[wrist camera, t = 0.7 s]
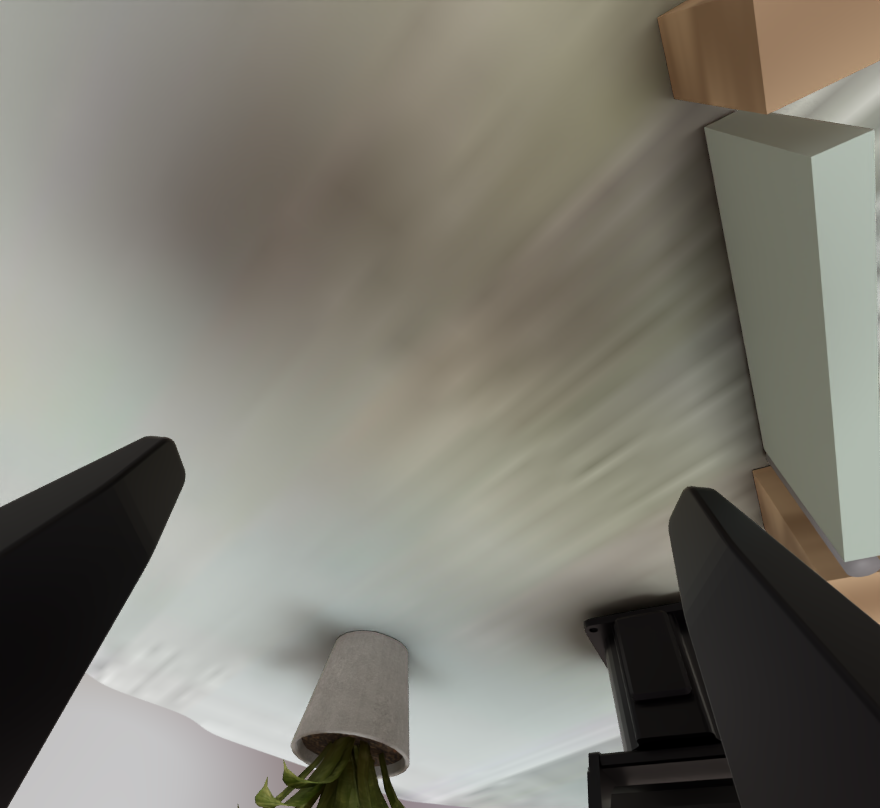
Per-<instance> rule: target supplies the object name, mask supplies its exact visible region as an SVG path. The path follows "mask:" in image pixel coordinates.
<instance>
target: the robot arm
mask: <svg viewBox="0 0 880 808" xmlns="http://www.w3.org/2000/svg"><path fill="white" fill-rule="evenodd" d="M184 482H185V469H184V466H183V464H182V461H181V458H180V455H179V453H178V450H177V447H176V445H175V443H174V441H173V440H172V439H170V438H167V437H158V436H146V437H143V438H141V439H139V440H137V441H135V442H133V443H131V444H129V445H127V446H125V447H123V448H121V449H119V450H116V451H114V452H112V453H110V454H108V455H106V456H104V457H102V458H100V459H98V460H96V461H94V462H92V463H90V464H88V465H86V466H84V467H82V468H80V469H78V470H75V471H73V472H71V473H69V474H67V475H65V476H63V477H61V478H59V479H57V480H55V481H53V482H51V483H49V484H47V485H45V486H43V487H41V488H39V489H37V490H35V491H32V492H30V493H28V494H26V495H24V496H22V497H20V498H18V499H16V500H14V501H12V502H10V503H8V504H6V505H4V506H2V507H0V808H7V807H8V806H9V804H10V802H11V801H12V799H13V797H14V795H15V794H16V792H17V790H18V788H19V787H20V785H21V783H22V781H23V780H24V778H25V776H26V775H27V773H28V771H29V769H30V767H31V766H32V764H33V762H34V761H35V759H36V757H37V755H38V754H39V752H40V750H41V748H42V747H43V745H44V743H45V742H46V740H47V738H48V736H49V735H50V733H51V731H52V729H53V728H54V726H55V724H56V722H57V721H58V719H59V717H60V716H61V714H62V712H63V710H64V709H65V707H66V705H67V703H68V702H69V700H70V698H71V696H72V695H73V693H74V691H75V689H76V688H77V686H78V684H79V683H80V681H81V679H82V677H83V676H84V674H85V672H86V670H87V669H88V667H89V665H90V663H91V662H92V660H93V658H94V656H95V655H96V653H97V651H98V650H99V648H100V646H101V644H102V643H103V641H104V639H105V637H106V636H107V634H108V632H109V630H110V629H111V627H112V625H113V623H114V622H115V620H116V618H117V617H118V615H119V613H120V611H121V610H122V608H123V606H124V604H125V603H126V601H127V599H128V597H129V596H130V594H131V592H132V590H133V589H134V587H135V585H136V584H137V582H138V580H139V578H140V577H141V575H142V573H143V571H144V569H145V568H146V566H147V564H148V562H149V560H150V558H151V556H152V554H153V552H154V550H155V548H156V546H157V544H158V541H159V539H160V537H161V535H162V532H163V530H164V528H165V526H166V523H167V521H168V519H169V517H170V514H171V512H172V510H173V508H174V505H175V503H176V501H177V499H178V496H179V494H180V492H181V490H182V487H183V485H184ZM669 536H670V541H671V547H672V552H673V558H674V563H675V569H676V575H677V580H678V586H679V591H680V597H681V602H680V603H674V604H669V605H663V606H658V607H652V608H647V609H641V610H636V611H631V612H625V613H620V614H614V615H609V616H603V617H598V618H592V619H588V620H586V621H584V629H585V632H586V634H587V636H588V637H589V639H590V641H591V642H592V644H593V645H594V647H595V649H596V650H597V652H598V654H599V655H600V657H601V659H602V660H603V662H604V664H605V665H606V667H607V668H608V672H609V677H610V682H611V687H612V692H613V698H614V703H615V708H616V713H617V718H618V723H619V728H620V734H621V739H622V744H623V749H624V752H615V753H605V754H601V753H600V752H593V753H589V768H588V772H587V778H588V803H589V808H880V624H878V623H877V622H876V621H875V620H873V619H872V618H871V617H870V616H869V615H867V614H866V613H865V612H864V611H862V610H861V609H860V608H859V607H858V606H856V605H855V604H854V603H853V602H851V601H850V600H849V599H848V598H847V597H845V596H844V595H843V594H842V593H840V592H839V591H838V590H837V589H836V588H834V587H833V586H832V585H831V584H829V583H828V582H827V581H826V580H825V579H823V578H822V577H821V576H820V575H818V574H817V573H816V572H815V571H814V570H812V569H811V568H810V567H809V566H807V565H806V564H805V563H804V562H803V561H801V560H800V559H799V558H798V557H796V556H795V555H794V554H793V553H792V552H790V551H789V550H788V549H787V548H785V547H784V546H783V545H782V544H781V543H779V542H778V541H777V540H776V539H774V538H773V537H772V536H771V535H770V534H768V533H767V532H766V531H765V530H763V529H762V528H761V527H760V526H759V525H757V524H756V523H755V522H754V521H752V520H751V519H750V518H749V517H748V516H746V515H745V514H744V513H743V512H741V511H740V510H739V509H738V508H736V507H735V506H734V505H733V504H732V503H730V502H729V501H728V500H727V499H725V498H724V497H723V496H722V495H721V494H719V493H718V492H717V491H715V490H714V489H711V488H705V487H694V486H690V487H687V488H685V489H684V490H683V492H682V494H681V496H680V498H679V500H678V502H677V504H676V506H675V508H674V510H673V512H672V515H671V517H670V520H669Z"/></svg>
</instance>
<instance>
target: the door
mask: <svg viewBox="0 0 880 808" xmlns="http://www.w3.org/2000/svg"><path fill="white" fill-rule="evenodd" d="M704 130H705V135H706V141H707V146H708V151H709V157H710V162H711V167H712V173H713V178H714V184H715V189H716V194H717V200H718V205H719V210H720V216H721V221H722V226H723V232H724V237H725V243H726V248H727V253H728V259H729V264H730V269H731V275H732V280H733V285H734V291H735V296H736V302H737V307H738V312H739V318H740V323H741V328H742V334H743V339H744V344H745V350H746V355H747V360H748V366H749V371H750V377H751V382H752V387H753V393H754V398H755V403H756V409H757V414H758V419H759V425H760V430H761V436H762V441H763V446H764V450H765V451H766V460H767V461H768V463H769V464H770V465H771V467H772V468H773V470H774V471H775V473H776V474H777V475H778V477H779V478H780V480H781V481H782V483H783V484H784V485H785V487H786V488H787V490H788V491H789V493H790V494H791V495H792V497H793V498H794V500H795V501H796V502H797V504H798V505H799V507H800V508H801V510H802V511H803V512H804V514H805V515H806V517H807V518H808V520H809V521H810V522H811V524H812V525H813V527H814V528H815V530H816V531H817V532H818V534H819V535H820V537H821V538H822V539H823V541H824V542H825V544H826V545H827V547H828V548H829V549H830V551H831V552H832V554H833V555H834V557H835V558H836V559H837V561H838V562H839V564H840V565H841V567H842V568H843V569H844V571H845V572H846V574H847V575H849V576H852V577H864V576H868V575H871V574H874V573H875V572H877V571H878V570H879V569H880V560H879V558H878V557H877V556H879V555H880V419H879V363H878V306H877V250H876V193H875V137H874V129H870V128H864V127H858V126H851V125H845V124H839V123H833V122H826V121H820V120H814V119H808V118H801V117H795V116H789V115H783V114H776V113H770V114H767V115H766V114H760V113H754V112H748V111H743V110H738V111H736V112H734V113H732V114H730V115H728V116H726V117H724V118H722V119H720V120H718V121H716V122H714V123H712V124H709V125H707V126H705V127H704Z"/></svg>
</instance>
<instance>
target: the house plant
mask: <svg viewBox="0 0 880 808" xmlns="http://www.w3.org/2000/svg"><path fill="white" fill-rule="evenodd" d="M291 748H292V751H293V753H294V754H295V755H296V756H297V757H298V758H299V759H300V760H302V761H303V762H305V763H306V764H308V765H309V766H308V767H307V768H306V769H305V770H304V771H303V772H302V773H301V774H300V775H299V776H298V777H297V776H296V775H294V774H293V773H292V772H291V771H290V770H289V769H287V767H286V764H285V762H284V773H283V781H284V783H285V784H286V785H287V786H288V787H287V788H286V789H285V790H284V791H283V792H281V793H280V794H279V795H278V796H277V797H276V798H274V797H273V796H272V794H271V792H270V791H269V789H268V787H267V782H268V777H267V779H266V782H265V784H264V787H263V788H262V789H261V790H260V791H259V793H258V794H257V795H256V796H255V803H256V804H257V805H258V806H260V807H263V808H275V807H276V806H278V805H286V806H294V807H295V808H311V807H312V806H313V805H314V803H315V802H316V800H317V799H318V797H319V796H320V799H319V803H318V805H317V808H389V807H388V805H387V803H386V801H385V799H384V797H383V795H382V793H381V790H380V788H379V785H378V780H377V779H379V778H383V784H384V789H385V792H386V795H387V797H388V800H389V802H390V805H391V808H404V806H403V805H402V803H401V802H400V801H399V800H398V798H397V796H396V794H395V791H394V789H393V787H392V784H391V782H390V778H389V777H393V776H397V775H399V774H401V773H403V772H405V771H406V769H407V768H408V767H409V685H408V651H407V649H406V647H405V646H404V645H403V644H402V643H401V642H399V641H397V640H395V639H393V638H391V637H388V636H386V635H383V634H380V633H377V632H371V631H354V632H349V633H346V634H344V635H342V636H340V637H339V638H338V639H337V640H336V642H335V645H334V647H333V649H332V651H331V654H330V656H329V658H328V660H327V663H326V665H325V667H324V670H323V672H322V674H321V676H320V679H319V681H318V683H317V685H316V688H315V690H314V692H313V694H312V697H311V699H310V701H309V704H308V706H307V708H306V710H305V713H304V715H303V717H302V719H301V722H300V724H299V726H298V728H297V731H296V733H295V735H294V738H293V740H292V743H291ZM283 761H284V760H283ZM314 768H317V769H316V770H315V771H314V772H313V774H312V775H311V776H310V777H309V779H308V780H305V778H306V776H307V775H308V774H309V773H310V772H311V771H312V770H313V769H314ZM295 788H296V789H300V790H299V791H298V792H297V793H296V794H295V795H294V796H292V797H291V798H290V799H289V800H288V801H286V802H285V803H281V801H282V800H283V799H284V798H285V797H286V796H287V795H288V794H289V793H290V792H291V791H292V790H293V789H295ZM320 794H321V795H320ZM238 808H239V806H238Z"/></svg>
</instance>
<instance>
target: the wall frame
mask: <svg viewBox="0 0 880 808" xmlns="http://www.w3.org/2000/svg"><path fill="white" fill-rule="evenodd" d="M657 19H658V24H659V29H660V34H661V38H662V43H663V48H664V53H665V57H666V62H667V67H668V72H669V76H670V81H671V86H672V91H673V95H674V99H678V100H684V101H690V102H696V103H701V104H707V105H713V106H719V107H725V108H731V109H737V110H743V111H748V112H754V113H760V114H766V115H767V114H770V113H772V112H774V111H776V110H778V109H780V108H782V107H784V106H786V105H788V104H790V103H792V102H794V101H797V100H799V99H801V98H803V97H805V96H807V95H809V94H811V93H813V92H815V91H817V90H819V89H822V88H824V87H826V86H828V85H830V84H832V83H834V82H836V81H838V80H840V79H842V78H844V77H847V76H849V75H851V74H853V73H855V72H857V71H859V70H861V69H863V68H865V67H867V66H869V65H872V64H874V63H876V62H878V61H880V0H687V1H685V2H683V3H682V4H680V5H678V6H676V7H675V8H673V9H671V10H670V11H668V12H666V13H664V14H663V15H661V16H659V17H658V18H657ZM753 476H754V481H755V486H756V490H757V495H758V500H759V505H760V509H761V514H762V519H763V524H764V528H765V530H766V532H767V533H768V534H770V535H771V536H772V537H773V538H774V539H776V540H777V541H778V542H779V543H781V544H782V545H783V546H784V547H785V548H787V549H788V550H789V551H790V552H792V553H793V554H794V555H795V556H796V557H798V558H799V559H800V560H801V561H803V562H804V563H805V564H806V565H807V566H809V567H810V568H811V569H812V570H814V571H815V572H816V573H817V574H818V575H820V576H821V577H822V578H823V579H825V580H826V581H827V582H828V583H829V584H831V585H832V586H833V587H834V588H836V589H837V590H838V591H839V592H840V593H842V594H843V595H844V596H845V597H847V598H848V599H849V600H850V601H851V602H853V603H854V604H855V605H856V606H858V607H859V608H860V609H861V610H862V611H864V612H865V613H866V614H867V615H869V616H870V617H871V618H872V619H873V620H875V621H876V622H877V623H878V624H880V569H879V570H878V571H877V572H875V573H874V574H871V575H868V576H864V577H852V576H849V575H847V574H846V572H845V571H844V569H843V568H842V567H841V565H840V564H839V562H838V561H837V559H836V558H835V557H834V555H833V554H832V552H831V551H830V549H829V548H828V547H827V545H826V544H825V542H824V541H823V539H822V538H821V537H820V535H819V534H818V532H817V531H816V530H815V528H814V527H813V525H812V524H811V522H810V521H809V520H808V518H807V517H806V515H805V514H804V512H803V511H802V510H801V508H800V507H799V505H798V504H797V502H796V501H795V500H794V498H793V497H792V495H791V494H790V493H789V491H788V490H787V488H786V487H785V485H784V484H783V483H782V481H781V480H780V478H779V477H778V475H777V474H776V473H775V471H774V470H773V468H772V467H771V466H769V467H765V468H761V469H757V470H753ZM877 557H878V558H879V560H880V555H879V556H877Z"/></svg>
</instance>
